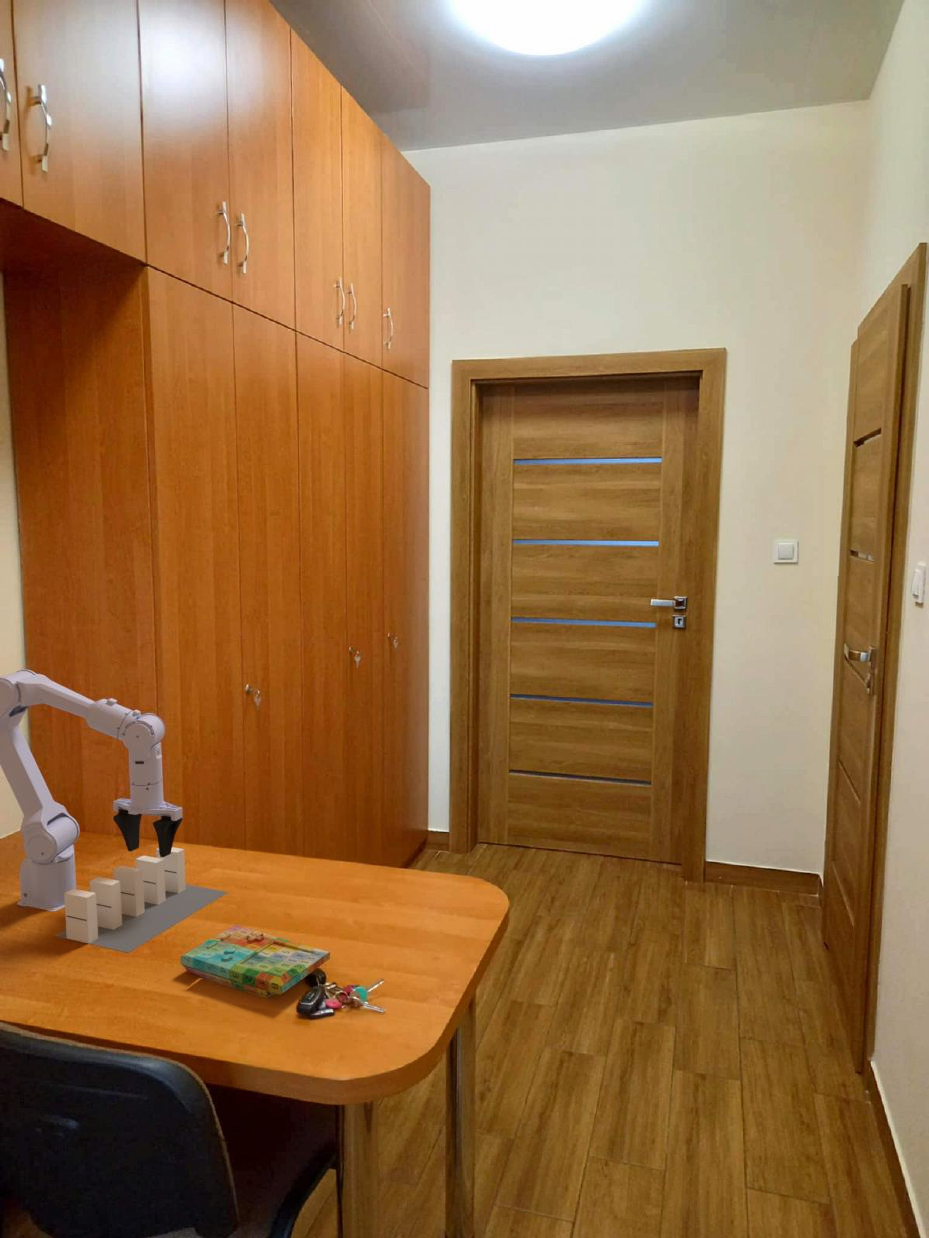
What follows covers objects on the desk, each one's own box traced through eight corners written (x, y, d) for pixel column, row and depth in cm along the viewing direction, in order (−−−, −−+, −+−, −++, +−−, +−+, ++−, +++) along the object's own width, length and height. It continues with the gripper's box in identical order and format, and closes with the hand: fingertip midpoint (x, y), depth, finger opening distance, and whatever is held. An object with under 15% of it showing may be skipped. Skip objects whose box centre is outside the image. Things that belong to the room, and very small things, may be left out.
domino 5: (178, 893, 168) (176, 852, 168) (157, 889, 170) (156, 849, 170) (185, 889, 170) (184, 849, 169) (165, 885, 172) (163, 845, 171)
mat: (55, 938, 151) (55, 935, 151) (162, 882, 175) (162, 879, 175) (128, 956, 145) (128, 952, 145) (228, 895, 169) (228, 892, 169)
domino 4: (157, 904, 163) (156, 862, 162) (137, 900, 165) (135, 859, 164) (165, 900, 165) (164, 859, 164) (145, 896, 167) (143, 855, 166)
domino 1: (88, 943, 148) (86, 897, 147) (66, 938, 150) (64, 893, 149) (98, 938, 150) (96, 892, 149) (76, 933, 152) (73, 888, 151)
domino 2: (113, 929, 153) (111, 885, 152) (91, 924, 155) (89, 880, 154) (122, 924, 155) (120, 880, 154) (100, 919, 157) (98, 876, 156)
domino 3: (136, 916, 158) (134, 873, 158) (115, 912, 160) (113, 869, 159) (144, 912, 160) (142, 869, 159) (123, 907, 162) (121, 865, 161)
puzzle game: (232, 920, 148) (329, 946, 139) (233, 947, 149) (330, 974, 139) (180, 950, 138) (281, 980, 129) (181, 979, 138) (282, 1011, 129)
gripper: (99, 782, 162) (103, 854, 163) (162, 791, 156) (165, 865, 158) (128, 772, 168) (131, 841, 170) (189, 780, 163) (191, 852, 164)
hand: (149, 852), depth 164 cm, fingers open, 7 cm apart
